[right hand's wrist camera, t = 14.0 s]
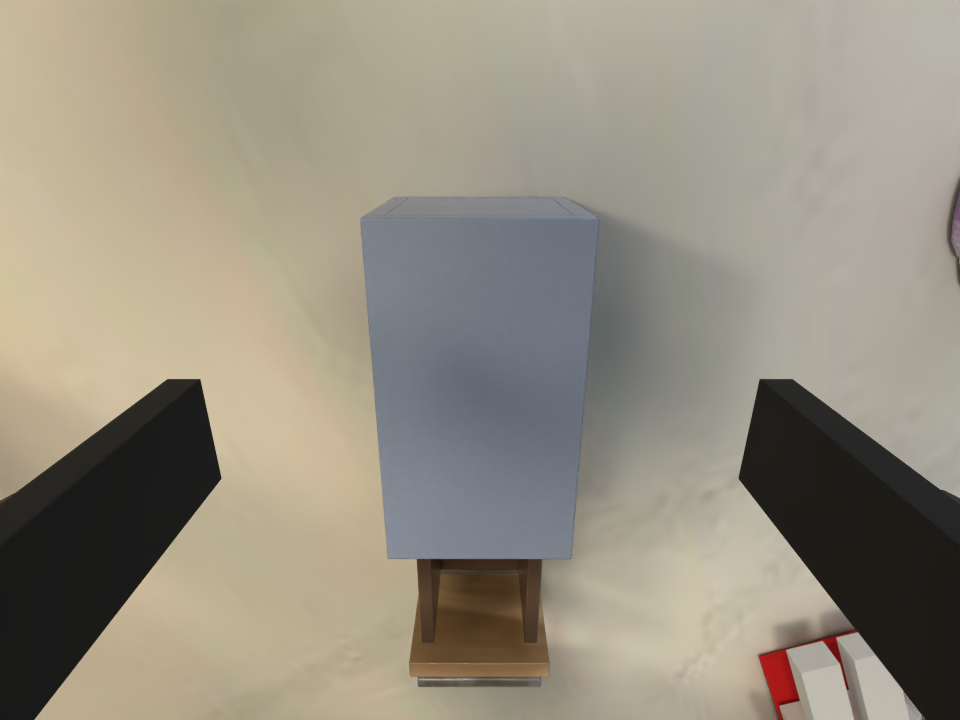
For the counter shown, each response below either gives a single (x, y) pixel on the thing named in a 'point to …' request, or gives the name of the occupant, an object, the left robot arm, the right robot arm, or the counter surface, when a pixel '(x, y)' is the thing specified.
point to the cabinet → (479, 371)
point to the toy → (834, 682)
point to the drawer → (479, 625)
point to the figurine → (956, 229)
